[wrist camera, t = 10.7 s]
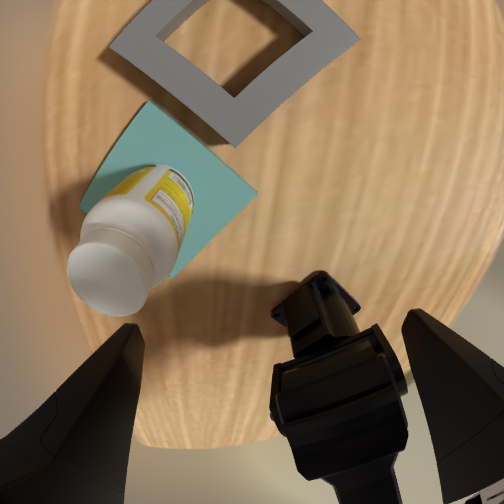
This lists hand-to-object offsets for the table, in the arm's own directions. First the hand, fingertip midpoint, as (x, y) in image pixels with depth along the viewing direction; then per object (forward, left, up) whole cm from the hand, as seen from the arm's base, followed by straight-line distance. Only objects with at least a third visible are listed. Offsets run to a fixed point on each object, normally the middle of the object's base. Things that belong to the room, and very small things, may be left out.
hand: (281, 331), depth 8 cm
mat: (+5, +5, -13) cm, 15 cm away
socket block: (+9, -7, -13) cm, 17 cm away
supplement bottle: (+5, +5, -13) cm, 15 cm away
